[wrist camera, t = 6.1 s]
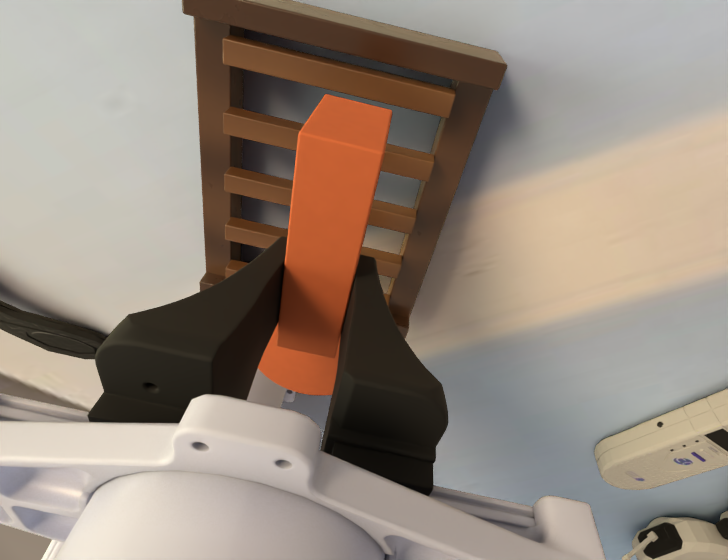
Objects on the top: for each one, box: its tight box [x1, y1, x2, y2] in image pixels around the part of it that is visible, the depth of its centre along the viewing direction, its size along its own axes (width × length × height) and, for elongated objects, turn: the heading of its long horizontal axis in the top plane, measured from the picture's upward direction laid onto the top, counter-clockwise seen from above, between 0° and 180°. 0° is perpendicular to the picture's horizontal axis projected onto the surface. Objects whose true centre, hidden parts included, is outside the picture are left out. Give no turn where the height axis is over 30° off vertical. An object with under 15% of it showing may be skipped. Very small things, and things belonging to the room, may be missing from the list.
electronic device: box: [594, 389, 728, 490], centre depth 29 cm, size 5×10×15 cm
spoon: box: [258, 94, 392, 395], centre depth 16 cm, size 13×5×4 cm, turn 168°
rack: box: [182, 0, 507, 339], centre depth 22 cm, size 16×13×3 cm
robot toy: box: [622, 511, 728, 560], centre depth 39 cm, size 12×4×15 cm
